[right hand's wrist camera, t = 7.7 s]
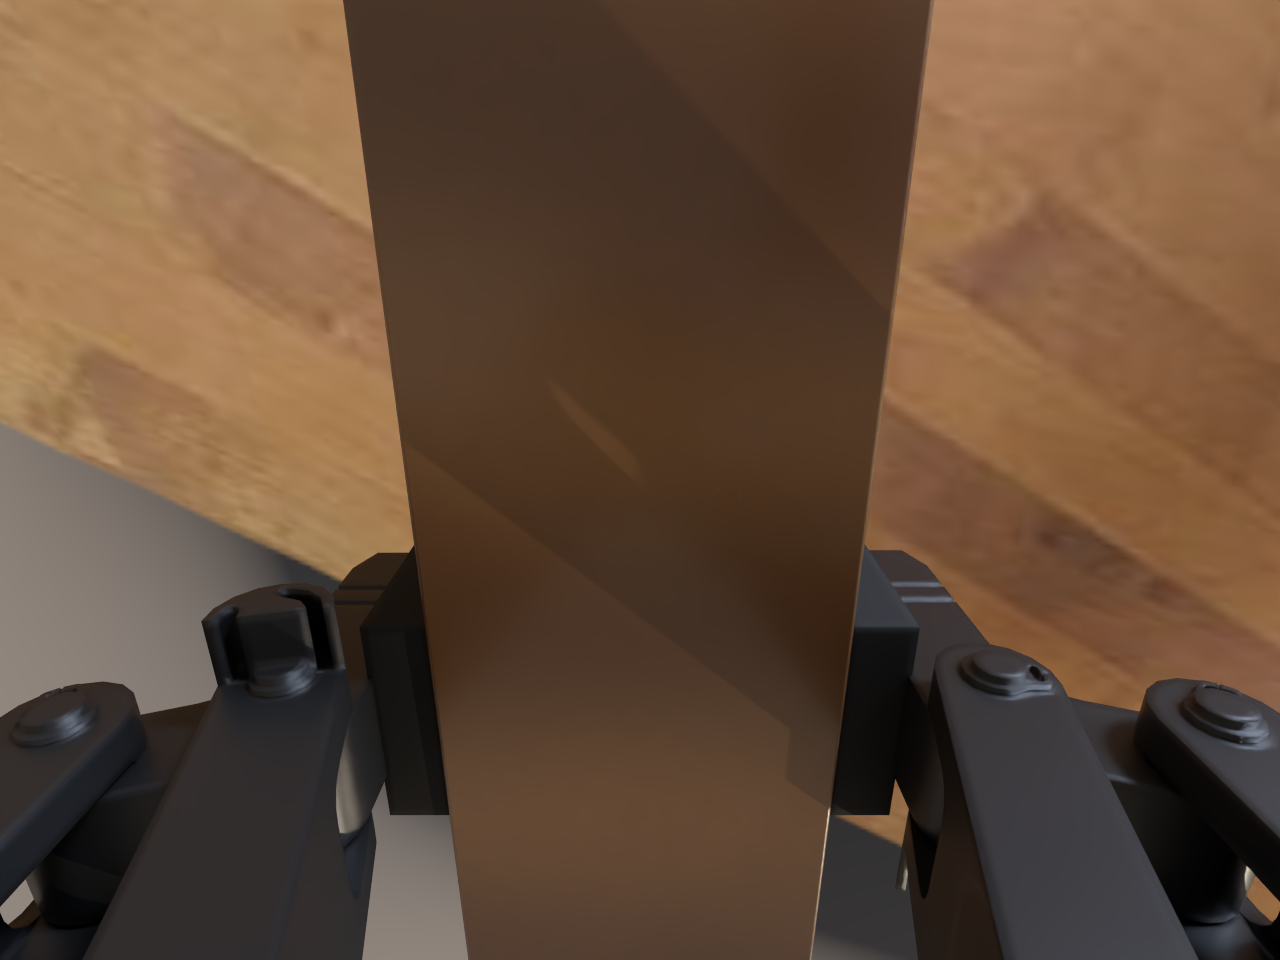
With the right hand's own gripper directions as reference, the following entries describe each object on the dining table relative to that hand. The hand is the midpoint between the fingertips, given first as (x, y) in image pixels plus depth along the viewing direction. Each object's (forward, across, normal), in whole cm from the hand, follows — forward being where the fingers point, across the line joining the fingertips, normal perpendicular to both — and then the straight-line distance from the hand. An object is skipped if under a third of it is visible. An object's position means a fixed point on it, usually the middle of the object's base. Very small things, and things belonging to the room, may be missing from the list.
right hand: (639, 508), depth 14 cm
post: (+1, 0, -23) cm, 23 cm away
